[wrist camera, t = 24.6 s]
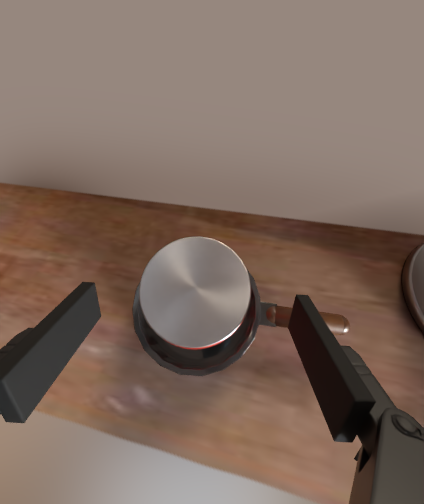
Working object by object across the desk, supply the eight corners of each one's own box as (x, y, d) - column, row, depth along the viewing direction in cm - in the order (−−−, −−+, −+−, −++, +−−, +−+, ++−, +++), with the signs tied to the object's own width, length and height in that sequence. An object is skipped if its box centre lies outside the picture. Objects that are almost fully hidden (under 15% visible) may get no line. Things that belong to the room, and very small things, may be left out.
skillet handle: (254, 324, 20) (259, 323, 19) (256, 303, 21) (260, 300, 19) (343, 337, 20) (355, 337, 19) (341, 315, 21) (353, 313, 19)
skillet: (271, 302, 24) (285, 295, 20) (204, 394, 21) (204, 410, 17) (194, 241, 26) (191, 223, 22) (123, 315, 23) (105, 311, 19)
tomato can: (243, 305, 23) (275, 280, 13) (203, 357, 21) (201, 380, 11) (197, 266, 25) (191, 215, 14) (156, 312, 23) (111, 293, 12)
